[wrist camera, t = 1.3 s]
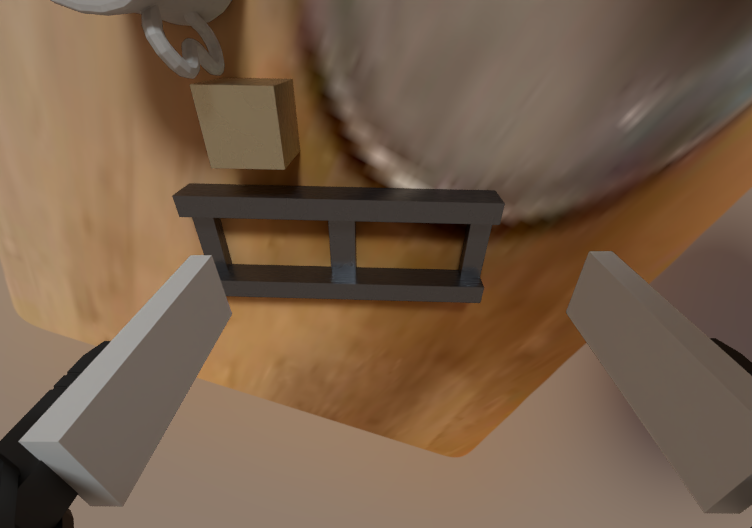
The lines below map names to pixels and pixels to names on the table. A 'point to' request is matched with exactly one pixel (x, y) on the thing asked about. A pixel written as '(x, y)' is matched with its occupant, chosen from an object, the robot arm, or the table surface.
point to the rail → (344, 239)
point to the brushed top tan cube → (248, 122)
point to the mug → (174, 5)
